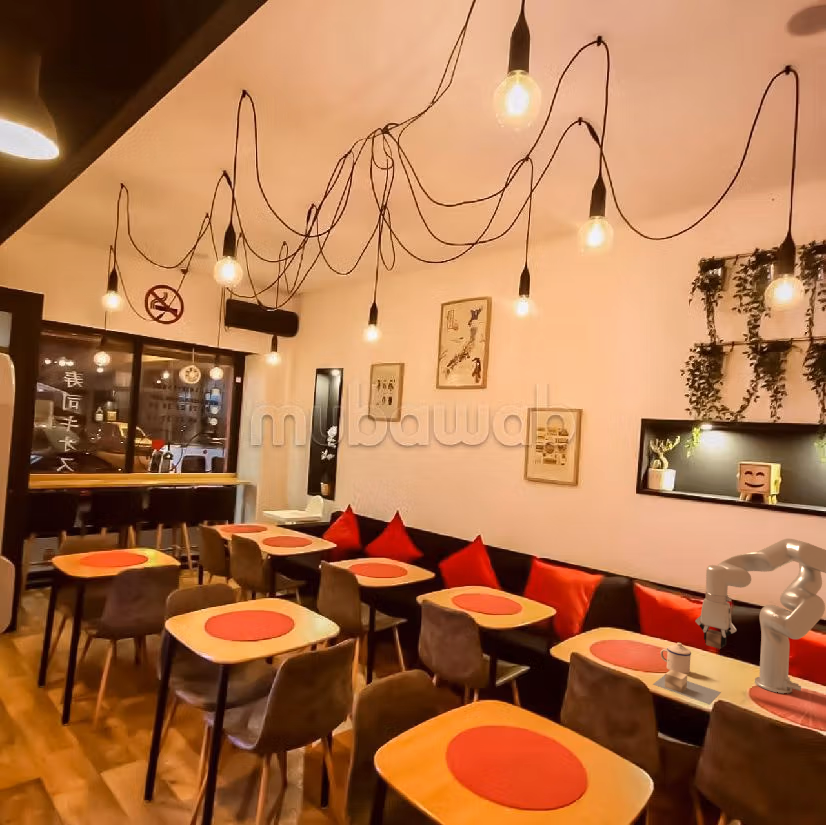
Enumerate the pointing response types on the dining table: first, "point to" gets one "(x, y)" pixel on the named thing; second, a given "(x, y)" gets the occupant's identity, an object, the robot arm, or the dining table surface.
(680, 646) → the teacup with lid
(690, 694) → the slate board
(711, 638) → the walnut block
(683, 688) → the maple block
